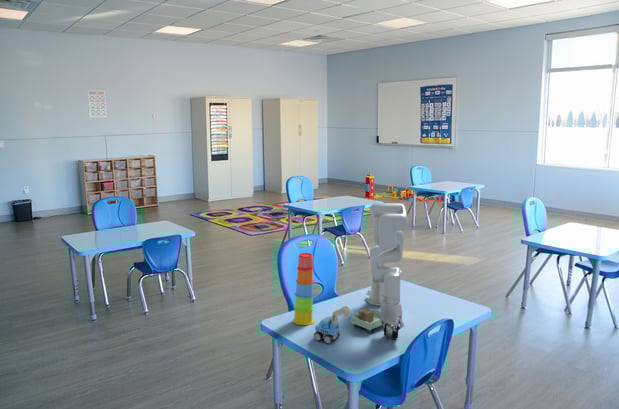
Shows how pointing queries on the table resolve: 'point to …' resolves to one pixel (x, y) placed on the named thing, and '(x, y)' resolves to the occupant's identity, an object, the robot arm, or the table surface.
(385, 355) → the table surface
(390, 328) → the grey metal cylinder
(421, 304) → the table surface
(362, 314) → the walnut block
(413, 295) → the table surface
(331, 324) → the toy excavator
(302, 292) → the stacking cups
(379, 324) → the parts cart
